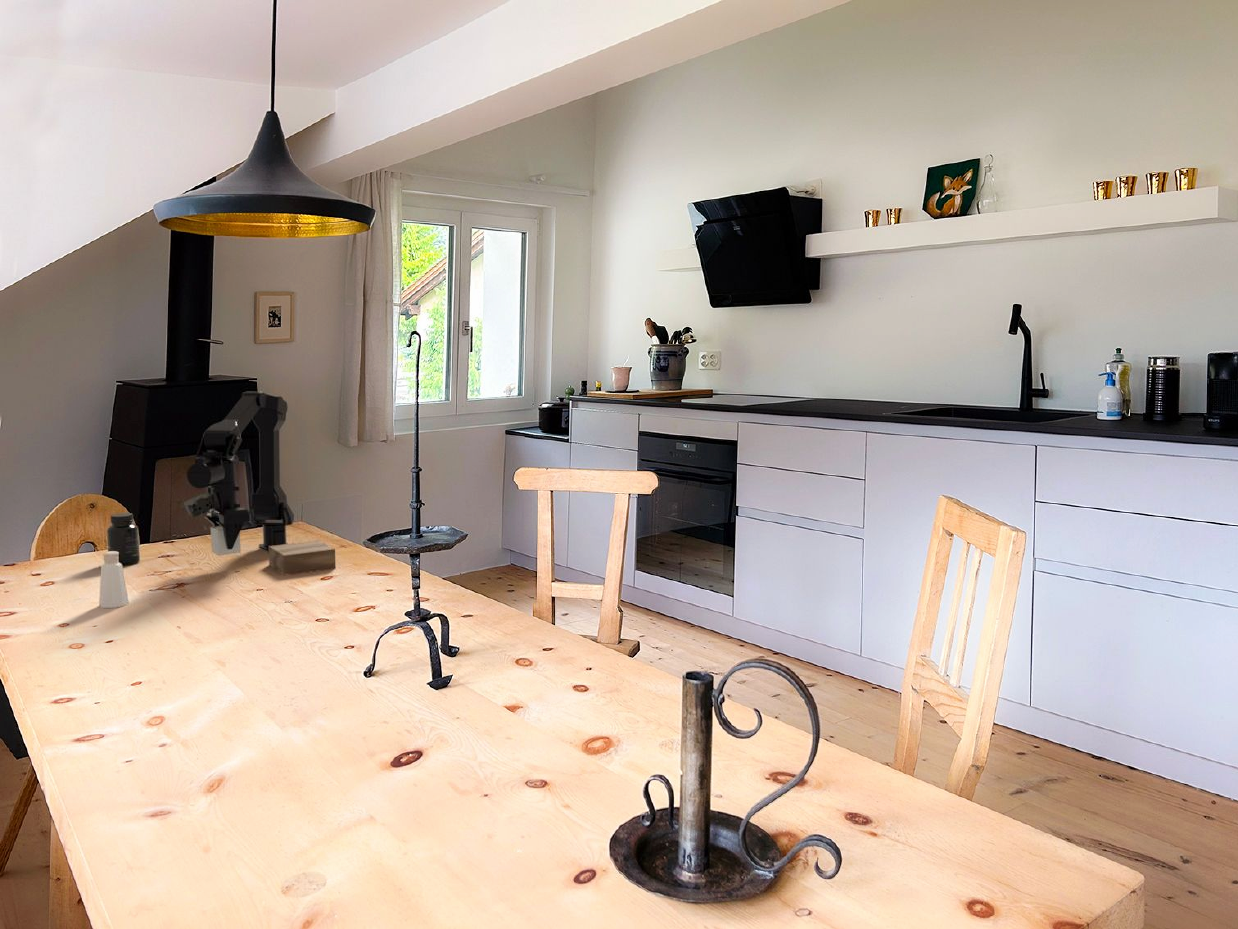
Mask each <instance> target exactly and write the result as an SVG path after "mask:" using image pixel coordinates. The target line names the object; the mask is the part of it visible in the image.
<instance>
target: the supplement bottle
mask: <svg viewBox="0 0 1238 929" xmlns="http://www.w3.org/2000/svg"><path fill="white" fill-rule="evenodd" d="M134 520H135V519H134V514H133V513H129V512H119V513H113V514H111V515H110V524H111V525H109V526H108V527H107V528H106V544H107V552H109V551H116V552H118V553H119V555H118V561H119V563H121V564H122V567H125V566H133V565H136V564H138V563H139V562H140V560H141V556H140V555H141V554H140V540H139V539H140V536H139V527H138V525H136V524H134V523H133V522H134Z"/></svg>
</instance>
